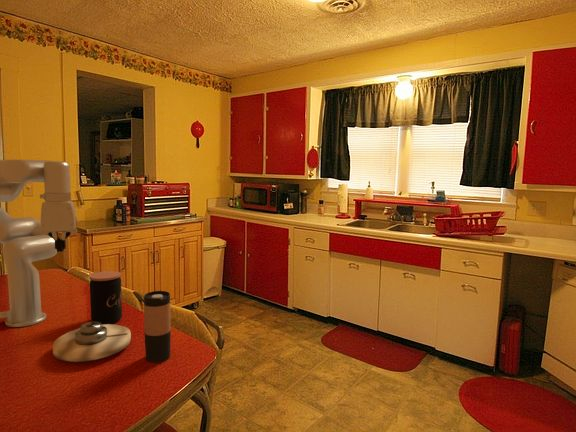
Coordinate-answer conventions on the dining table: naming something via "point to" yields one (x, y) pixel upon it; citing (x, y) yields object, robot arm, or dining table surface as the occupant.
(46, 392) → the dining table surface
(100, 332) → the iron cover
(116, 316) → the coffee jar
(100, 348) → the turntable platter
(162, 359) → the travel mug
